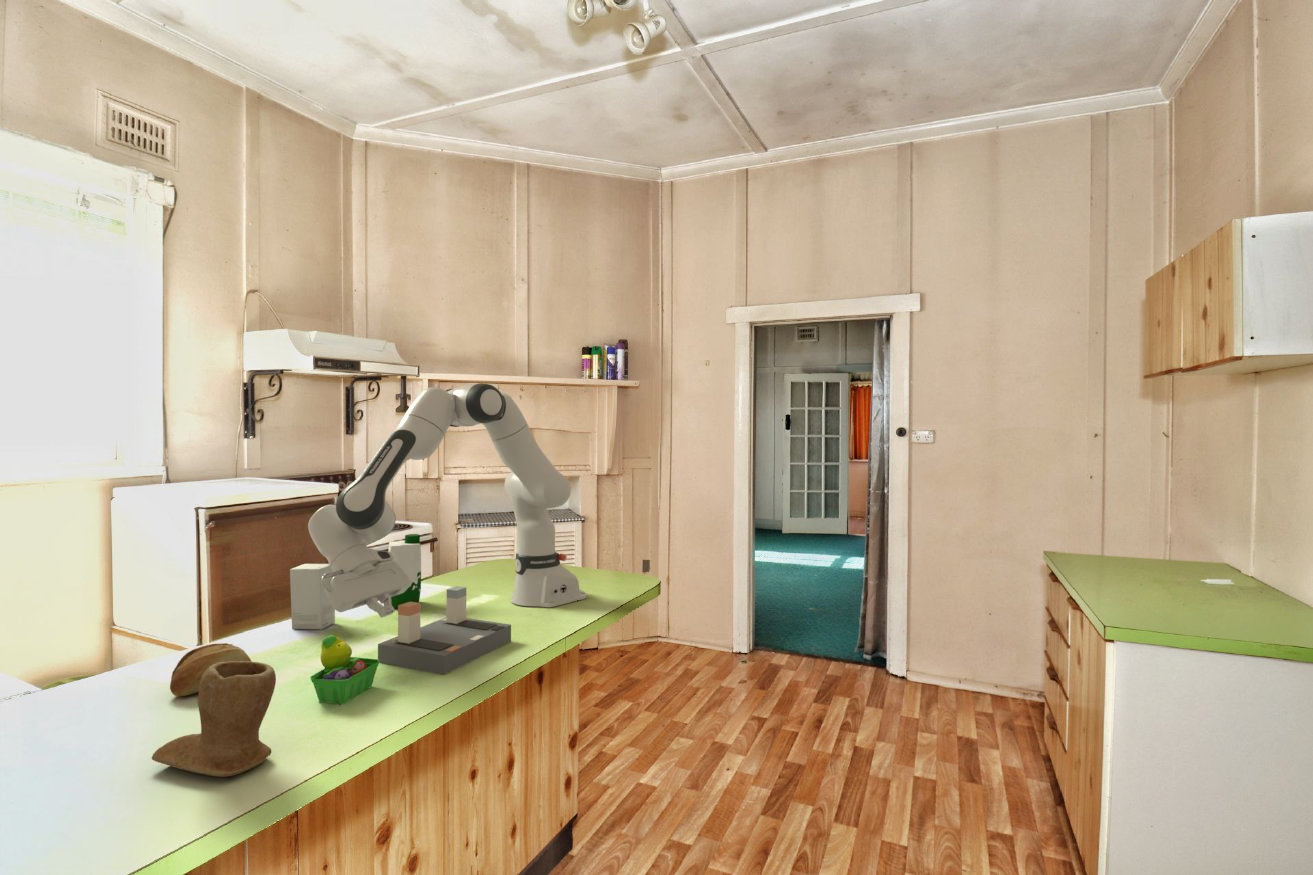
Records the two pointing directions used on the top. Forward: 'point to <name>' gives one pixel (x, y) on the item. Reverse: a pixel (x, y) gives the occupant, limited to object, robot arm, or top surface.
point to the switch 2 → (456, 604)
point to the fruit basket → (342, 672)
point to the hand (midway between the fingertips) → (388, 614)
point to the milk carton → (408, 567)
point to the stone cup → (226, 721)
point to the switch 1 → (409, 622)
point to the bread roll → (201, 666)
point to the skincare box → (310, 597)
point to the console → (445, 645)
